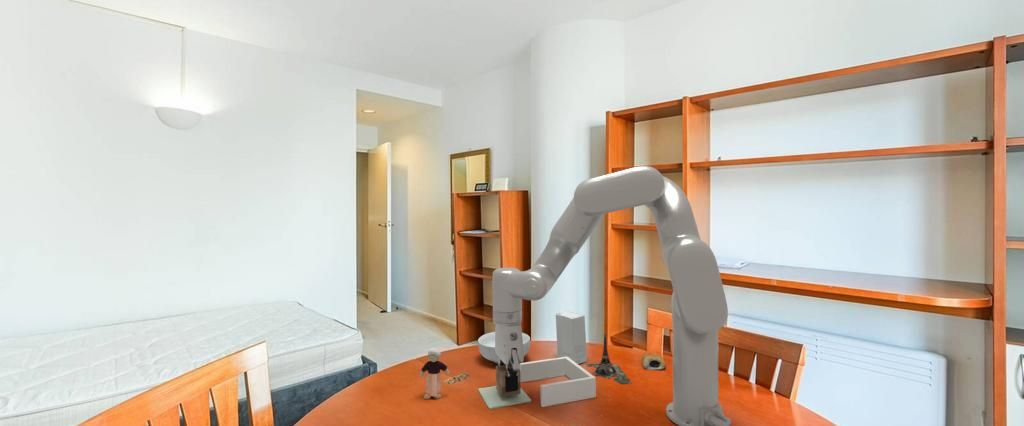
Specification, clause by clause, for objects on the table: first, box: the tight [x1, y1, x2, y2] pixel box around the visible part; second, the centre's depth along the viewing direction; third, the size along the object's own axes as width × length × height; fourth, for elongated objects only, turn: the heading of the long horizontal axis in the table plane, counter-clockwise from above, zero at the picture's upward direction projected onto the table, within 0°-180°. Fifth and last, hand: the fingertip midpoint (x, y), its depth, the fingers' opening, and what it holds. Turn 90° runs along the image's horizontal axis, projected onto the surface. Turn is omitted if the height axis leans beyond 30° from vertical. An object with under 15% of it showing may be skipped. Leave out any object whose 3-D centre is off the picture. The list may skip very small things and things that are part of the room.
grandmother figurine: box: [418, 347, 450, 400], centre depth 104 cm, size 8×4×13 cm, turn 105°
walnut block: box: [495, 365, 522, 397], centre depth 103 cm, size 5×5×6 cm
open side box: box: [519, 357, 597, 408], centre depth 108 cm, size 16×15×5 cm
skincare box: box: [555, 310, 588, 365], centre depth 128 cm, size 8×6×15 cm
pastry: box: [641, 352, 667, 371], centre depth 124 cm, size 9×7×4 cm
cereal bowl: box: [477, 331, 531, 364], centre depth 129 cm, size 17×17×7 cm
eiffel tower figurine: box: [585, 332, 632, 385], centre depth 118 cm, size 15×10×13 cm
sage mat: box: [477, 385, 532, 410], centre depth 104 cm, size 11×11×1 cm
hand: (508, 385), depth 103 cm, fingers closed on walnut block, 5 cm apart
